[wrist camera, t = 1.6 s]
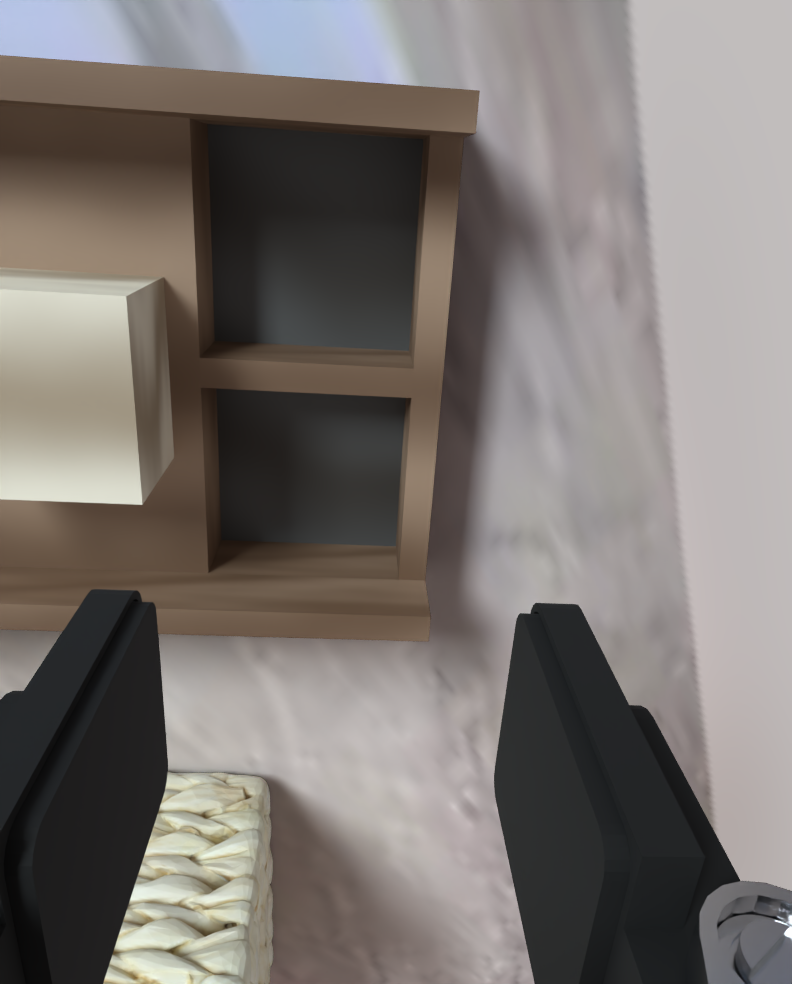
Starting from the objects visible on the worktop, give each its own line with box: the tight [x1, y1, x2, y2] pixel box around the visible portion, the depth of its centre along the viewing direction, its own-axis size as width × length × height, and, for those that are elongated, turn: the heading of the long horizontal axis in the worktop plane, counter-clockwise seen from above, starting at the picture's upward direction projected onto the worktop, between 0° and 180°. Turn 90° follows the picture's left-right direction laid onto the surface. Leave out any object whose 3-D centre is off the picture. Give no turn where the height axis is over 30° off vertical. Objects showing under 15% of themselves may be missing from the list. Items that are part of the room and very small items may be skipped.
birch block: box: [0, 268, 174, 505], centre depth 22 cm, size 6×6×4 cm
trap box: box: [0, 55, 479, 641], centre depth 24 cm, size 17×24×6 cm
